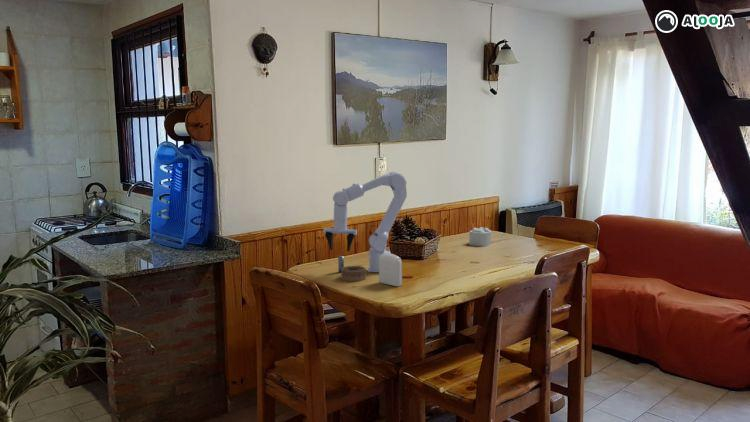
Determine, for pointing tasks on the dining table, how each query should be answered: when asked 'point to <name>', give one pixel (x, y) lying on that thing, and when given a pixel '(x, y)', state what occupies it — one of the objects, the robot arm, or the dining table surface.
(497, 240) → the dining table surface
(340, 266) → the dark grey capsule
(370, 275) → the dining table surface
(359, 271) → the bead
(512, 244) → the dining table surface
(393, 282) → the white upright block
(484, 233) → the lumpy-topped squat cylinder
